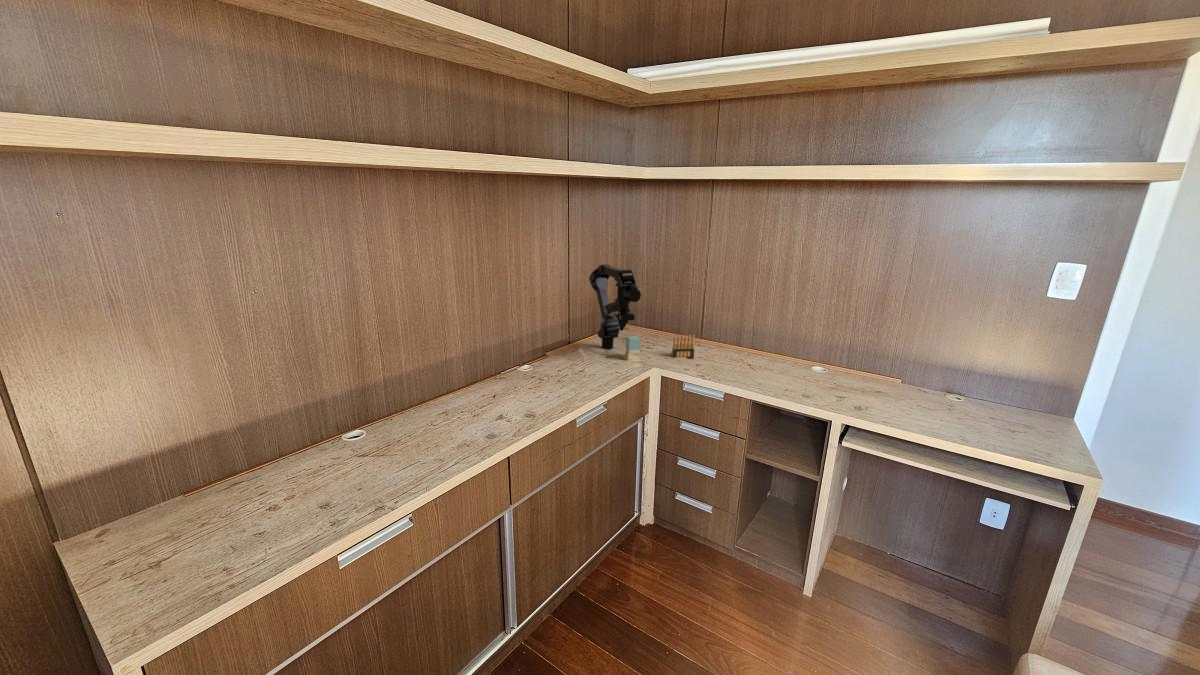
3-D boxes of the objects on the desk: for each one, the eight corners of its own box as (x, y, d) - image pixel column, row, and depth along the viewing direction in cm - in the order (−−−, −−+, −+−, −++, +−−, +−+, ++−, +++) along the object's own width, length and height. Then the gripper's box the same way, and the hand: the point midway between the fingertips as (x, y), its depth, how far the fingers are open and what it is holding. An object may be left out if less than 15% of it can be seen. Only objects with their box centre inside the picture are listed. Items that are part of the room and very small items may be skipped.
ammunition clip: (672, 359, 234) (674, 335, 230) (670, 358, 236) (673, 333, 232) (693, 358, 236) (696, 334, 232) (692, 357, 238) (694, 333, 234)
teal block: (625, 346, 230) (626, 336, 228) (636, 346, 231) (636, 336, 229) (628, 350, 225) (629, 339, 224) (639, 349, 226) (640, 339, 225)
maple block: (625, 357, 231) (625, 346, 230) (635, 356, 232) (636, 346, 231) (628, 360, 227) (629, 350, 225) (638, 360, 228) (639, 349, 226)
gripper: (601, 293, 233) (599, 325, 237) (611, 302, 215) (609, 336, 220) (623, 293, 235) (622, 324, 240) (635, 301, 218) (633, 336, 223)
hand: (621, 330), depth 231 cm, fingers closed
